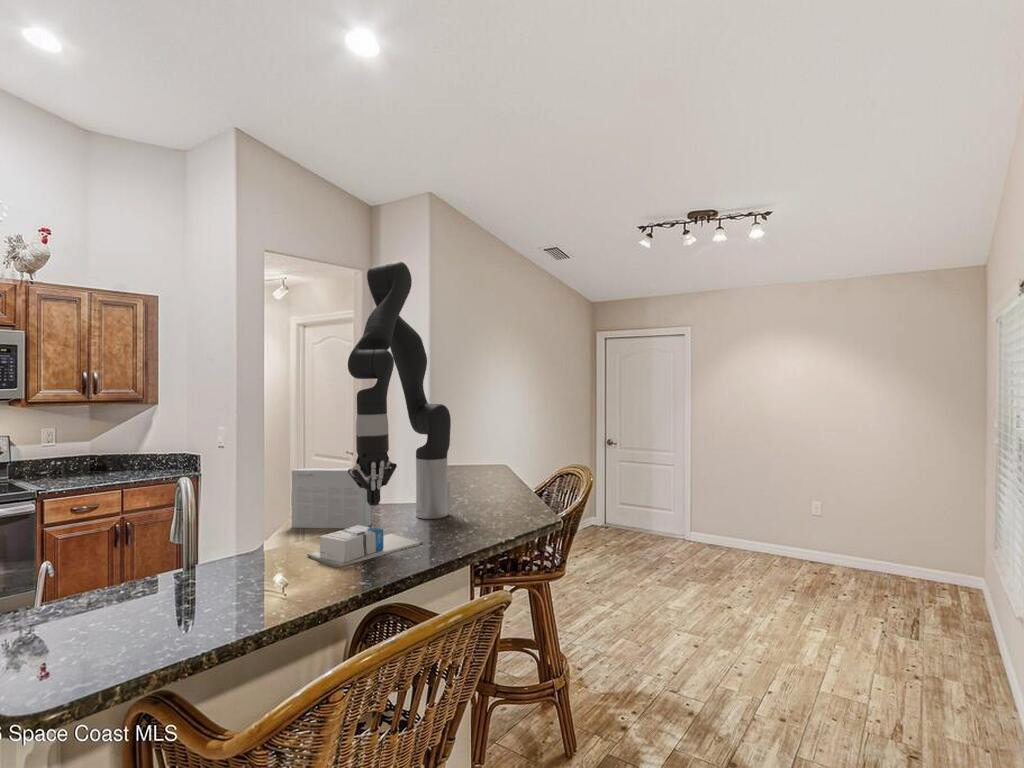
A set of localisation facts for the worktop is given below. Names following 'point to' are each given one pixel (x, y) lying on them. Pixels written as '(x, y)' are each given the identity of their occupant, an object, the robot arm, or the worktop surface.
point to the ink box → (351, 543)
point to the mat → (390, 545)
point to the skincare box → (328, 499)
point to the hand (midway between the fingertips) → (373, 504)
